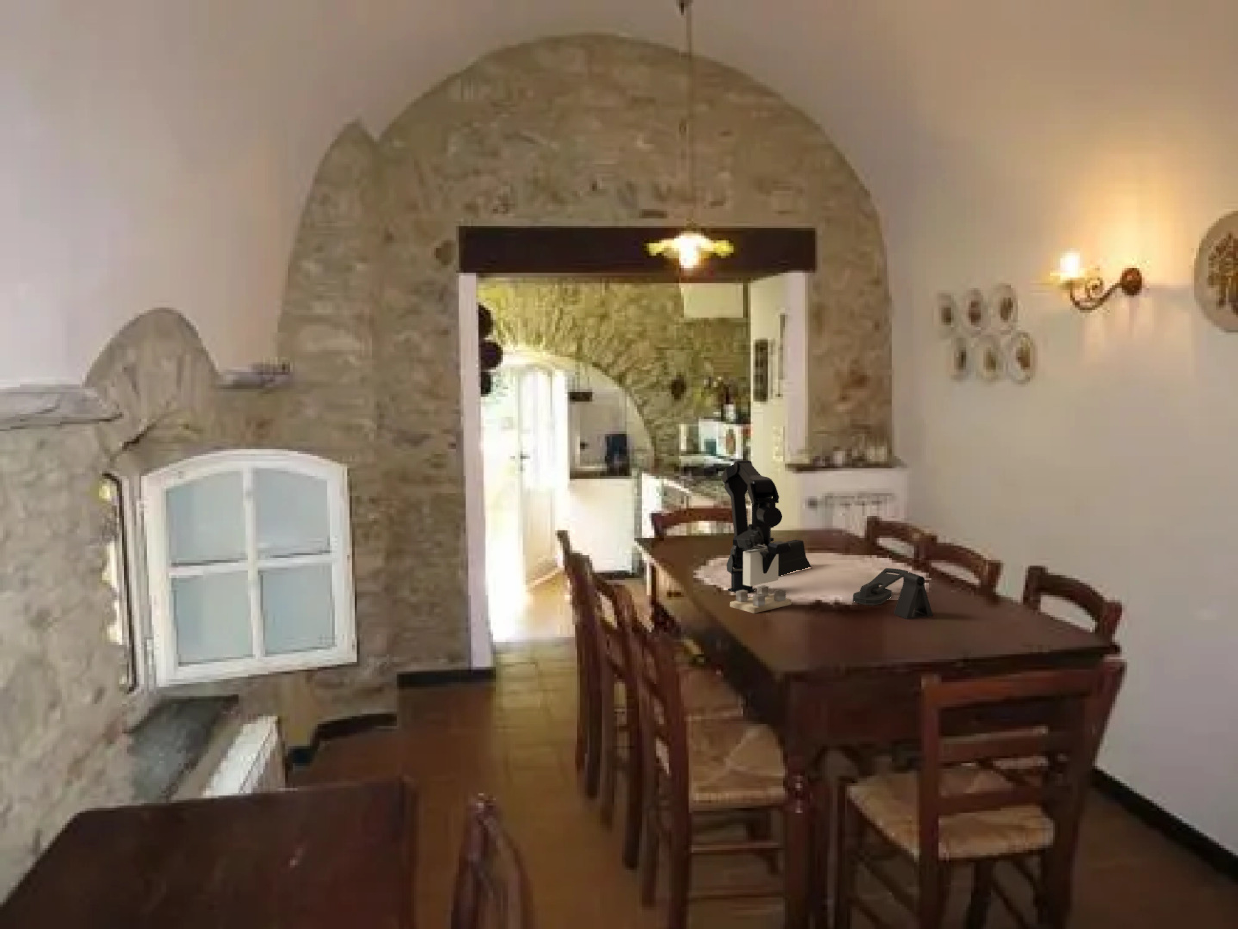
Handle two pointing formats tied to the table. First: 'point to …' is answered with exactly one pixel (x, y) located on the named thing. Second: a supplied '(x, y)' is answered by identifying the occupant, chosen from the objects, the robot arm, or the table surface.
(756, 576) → the cabinet door panel
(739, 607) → the hinge clip plate
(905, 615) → the black pivot stand
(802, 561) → the barrier
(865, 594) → the zipper pull
